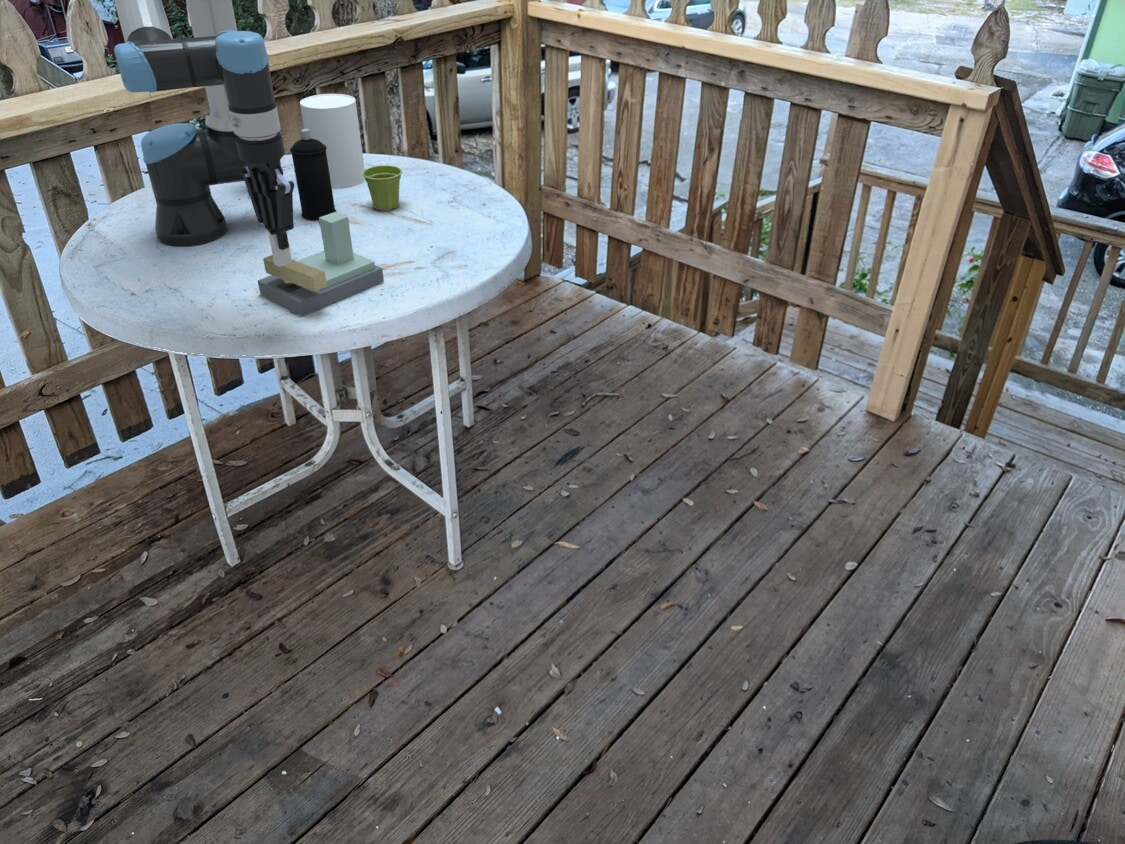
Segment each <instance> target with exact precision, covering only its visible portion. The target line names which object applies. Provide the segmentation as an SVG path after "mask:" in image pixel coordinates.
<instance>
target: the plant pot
mask: <svg viewBox="0 0 1125 844" xmlns="http://www.w3.org/2000/svg"><path fill="white" fill-rule="evenodd" d="M364 169H365V170H364V171H363V172H362V175H363V176H364V177H365V183H366V184H367V187H368V190H369V194H370V198H371V201H372V206H373V208H375V209H377V210H378V211H386V210H387V211H390V210H392V209H397V208H399V205H400V186H401V185H400V183H401V182H400V181H401V175H402V174H403V169H402V168H401V167H399V166H396V165H387V164H385V165H384V164H383V165H382V164H381V165H375V166H374V165H373V166H370V167H368V168H364Z"/></svg>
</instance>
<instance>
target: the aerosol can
mask: <svg viewBox="0 0 1125 844" xmlns="http://www.w3.org/2000/svg"><path fill="white" fill-rule="evenodd" d="M300 133H301V139H299V140H297V141H295V142H294V143H293V145H292V147H291V148H290V149H289V151H290V153H291V157H292V163H293V168H294V169H293V170H294V174H295V179H296V185H297V191H298V197H299V202H300V209H301V214H300V215H301V217H302V218H303V219H304V218H305V220H307V221H313V220H318V221H319V217H322V216H325V215H328V214H331V213H334V212H337V209H336V206H335V201H334V199H335V198H334V194H333V189H332V186H331V180H330V173H329V167H328V160H327V154H326V149H327V147H326V146H325V145H324V144H323V143H321V142H320V141H318V140H316V139H312V138H311V135H310V130H309V129H304V128H302V129H301V130H300ZM337 213H338V212H337Z"/></svg>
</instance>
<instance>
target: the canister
mask: <svg viewBox="0 0 1125 844" xmlns="http://www.w3.org/2000/svg"><path fill="white" fill-rule="evenodd" d="M356 101H357V100H356V98H355V97H354V96H352V95H350V94H343V93H323V94H321V93H320V94H315V95H311V96H307V97H305V98H302V99H301V100H300V101H299V105H300V106H299V107H300V111H301V116H302V117H301V119H302V124H303V129H309V130H310V135H311V138H312V139H316V140H318V141H320V142H321V143H323V144H324V145H325V146H326V147H327V149H326V154H327V160H328V167H329V173H330V180H331V186H332V188H334V190H337V188H339V189H346V188H347V187H348V188H352V187H356V186H358V185H360V184H363V182H366V180H365V177H364V176H363V175H362V172H363V171H364V170H365V169H366V168H365V163H364V154H363V147H362V140H361V132H360V125H359V117H358V108H357V103H356Z"/></svg>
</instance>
